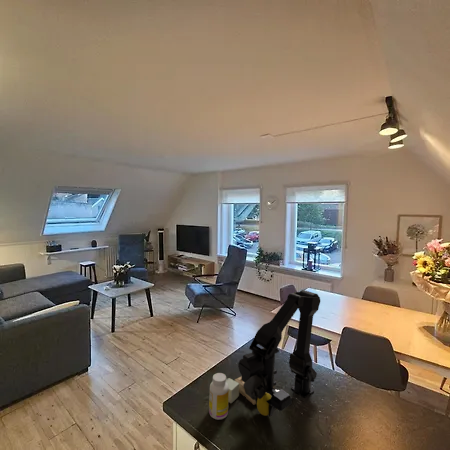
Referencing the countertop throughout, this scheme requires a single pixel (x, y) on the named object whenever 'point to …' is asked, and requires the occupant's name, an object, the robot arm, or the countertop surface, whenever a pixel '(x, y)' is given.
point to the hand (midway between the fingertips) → (264, 410)
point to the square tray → (242, 390)
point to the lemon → (263, 404)
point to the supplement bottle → (218, 397)
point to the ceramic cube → (232, 390)
